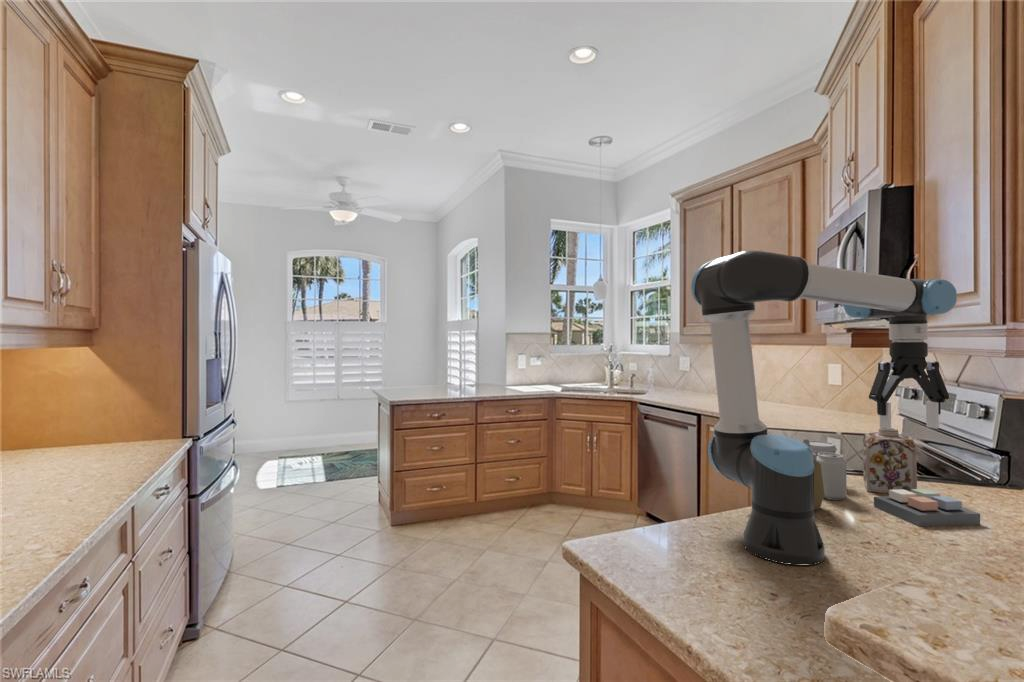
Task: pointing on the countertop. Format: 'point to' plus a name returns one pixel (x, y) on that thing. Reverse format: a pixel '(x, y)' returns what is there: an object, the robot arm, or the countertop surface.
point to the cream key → (901, 495)
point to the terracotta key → (923, 504)
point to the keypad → (927, 514)
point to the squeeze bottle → (817, 480)
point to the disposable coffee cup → (822, 447)
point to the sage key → (924, 493)
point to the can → (833, 475)
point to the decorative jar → (889, 461)
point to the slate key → (947, 503)
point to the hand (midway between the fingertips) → (908, 428)
